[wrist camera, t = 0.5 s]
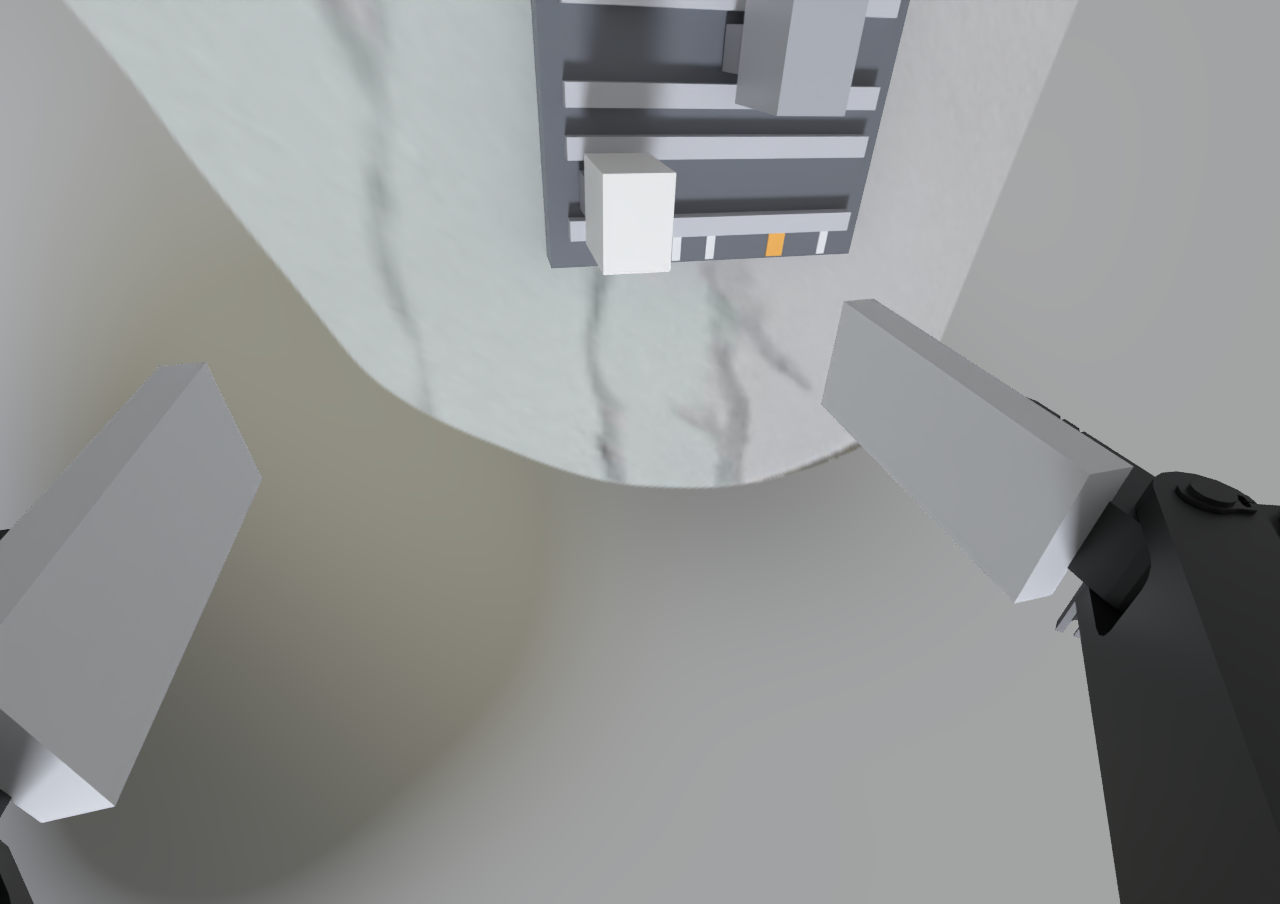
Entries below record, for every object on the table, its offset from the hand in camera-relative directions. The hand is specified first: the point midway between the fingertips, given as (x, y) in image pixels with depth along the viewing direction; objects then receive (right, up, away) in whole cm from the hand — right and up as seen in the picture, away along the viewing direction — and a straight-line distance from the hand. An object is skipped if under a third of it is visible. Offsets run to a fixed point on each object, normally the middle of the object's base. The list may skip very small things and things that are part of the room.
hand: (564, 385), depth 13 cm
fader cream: (0, +12, +17) cm, 20 cm away
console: (+5, +16, +18) cm, 25 cm away
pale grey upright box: (+7, +18, +15) cm, 24 cm away
